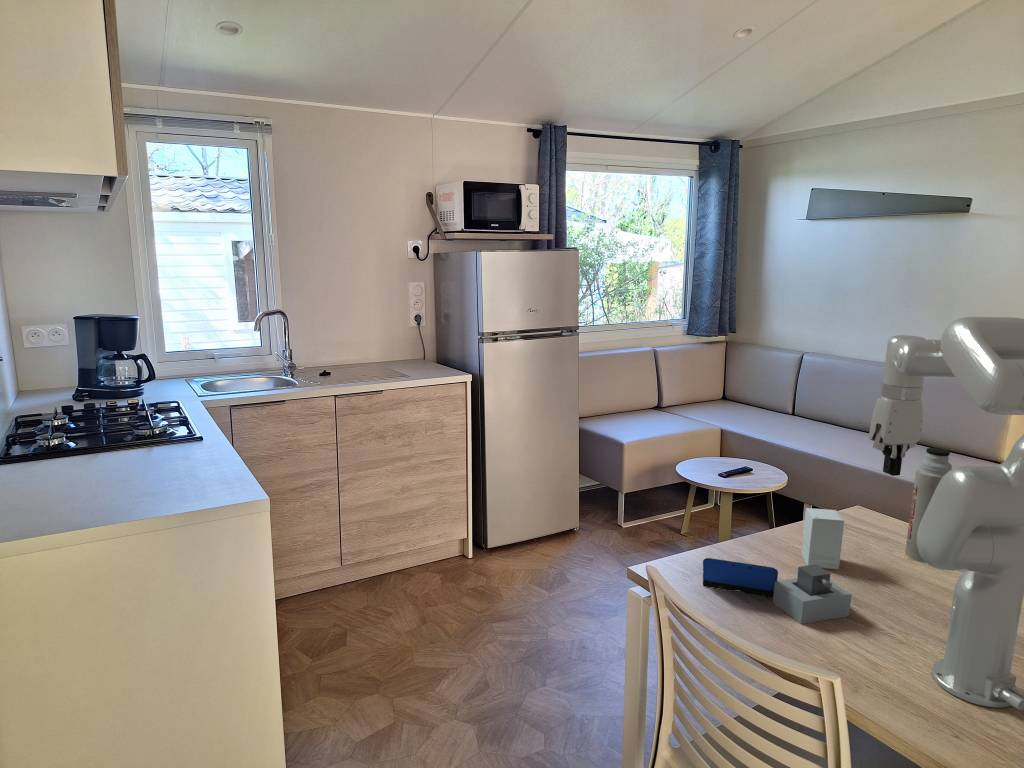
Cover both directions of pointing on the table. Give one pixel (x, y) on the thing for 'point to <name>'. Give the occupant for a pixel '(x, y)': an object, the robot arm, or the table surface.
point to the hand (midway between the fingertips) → (891, 473)
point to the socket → (811, 602)
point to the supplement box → (822, 538)
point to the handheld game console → (739, 577)
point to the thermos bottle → (925, 493)
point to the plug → (813, 580)
